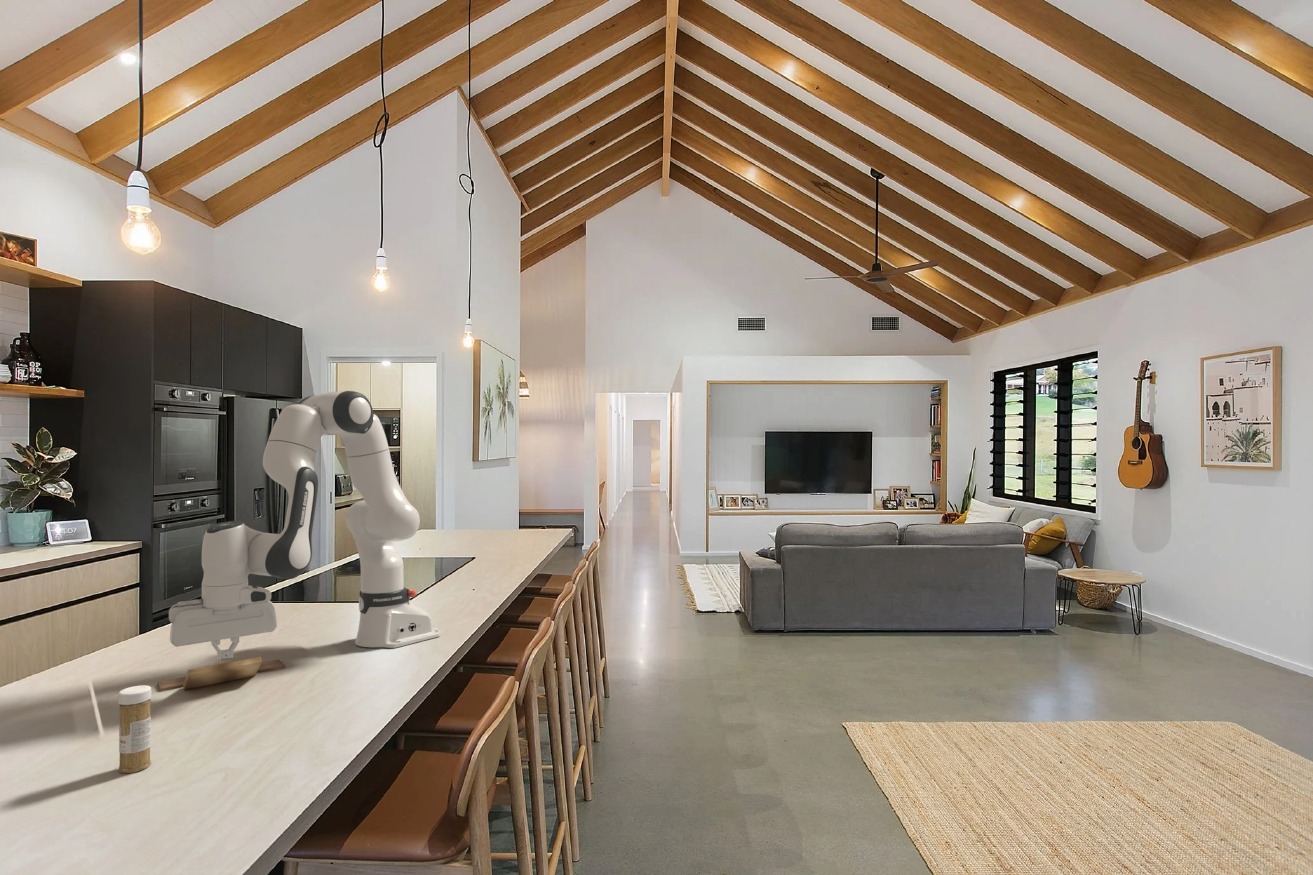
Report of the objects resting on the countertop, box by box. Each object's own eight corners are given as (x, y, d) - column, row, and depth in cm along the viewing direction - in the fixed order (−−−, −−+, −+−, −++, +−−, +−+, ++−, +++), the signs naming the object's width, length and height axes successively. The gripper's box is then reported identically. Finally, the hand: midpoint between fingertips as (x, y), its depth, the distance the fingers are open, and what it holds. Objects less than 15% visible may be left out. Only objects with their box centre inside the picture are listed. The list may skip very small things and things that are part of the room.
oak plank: (254, 677, 169) (253, 672, 169) (262, 661, 163) (261, 656, 163) (183, 690, 160) (182, 685, 160) (189, 674, 153) (188, 669, 154)
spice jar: (115, 768, 122) (114, 689, 122) (147, 759, 125) (146, 682, 125) (122, 776, 119) (122, 695, 119) (155, 767, 122) (155, 688, 123)
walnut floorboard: (278, 664, 179) (278, 659, 179) (285, 669, 174) (285, 664, 174) (157, 687, 163) (157, 681, 163) (160, 694, 158) (160, 688, 158)
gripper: (170, 605, 150) (170, 671, 150) (278, 591, 163) (279, 652, 163) (166, 600, 155) (166, 664, 154) (272, 587, 168) (272, 646, 168)
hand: (225, 658), depth 159 cm, fingers closed
